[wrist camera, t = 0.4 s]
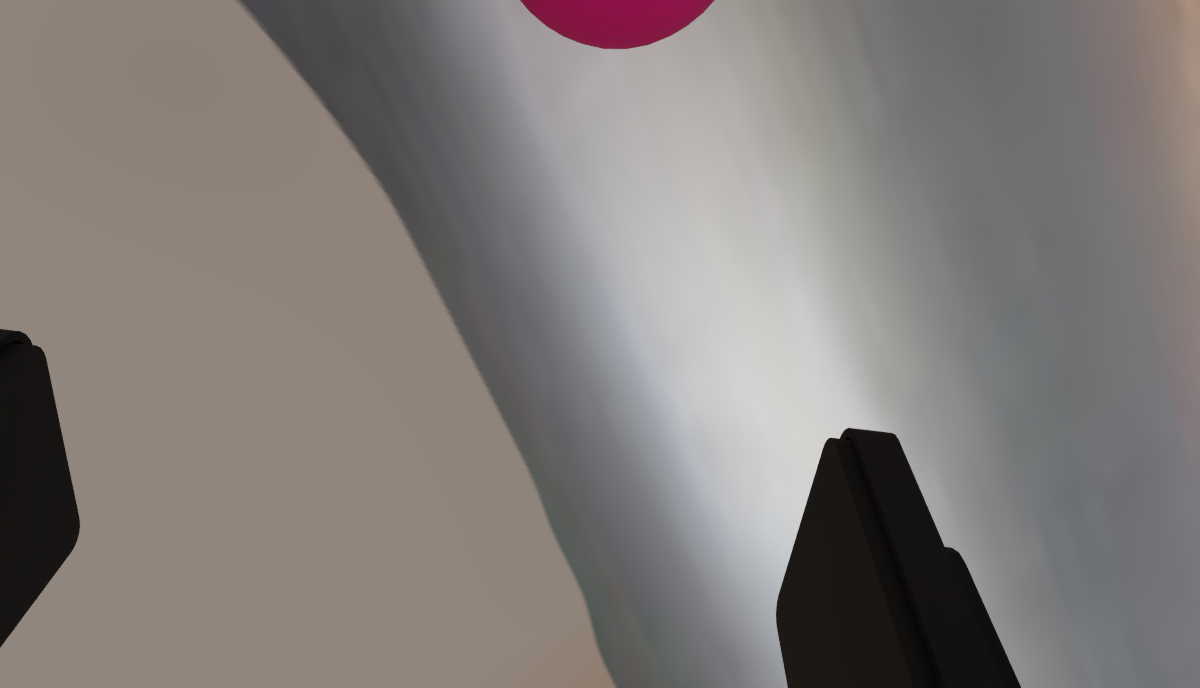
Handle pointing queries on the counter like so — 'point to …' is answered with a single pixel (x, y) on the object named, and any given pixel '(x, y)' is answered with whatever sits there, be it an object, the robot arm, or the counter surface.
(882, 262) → the counter surface
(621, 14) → the pepper mill
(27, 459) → the robot arm
